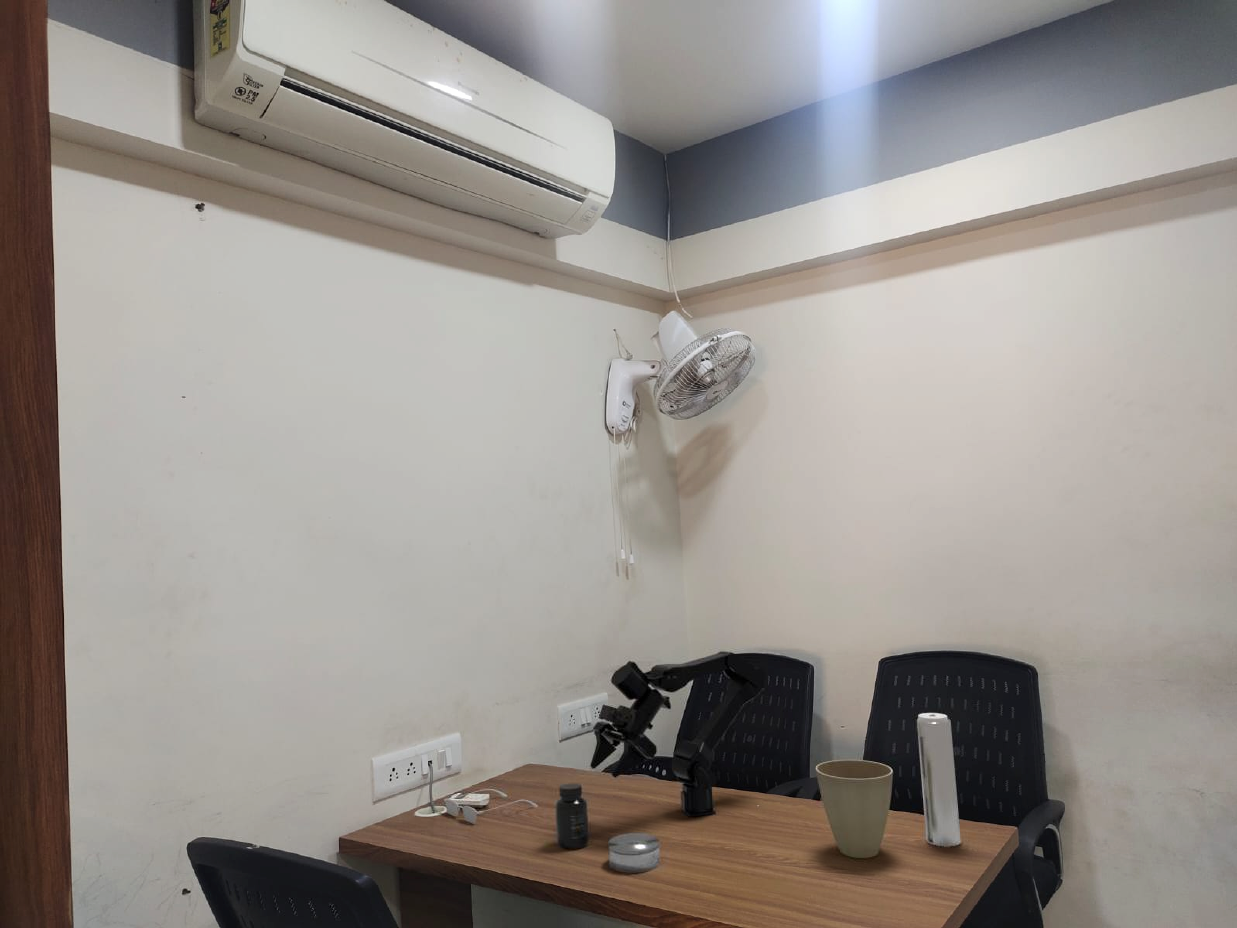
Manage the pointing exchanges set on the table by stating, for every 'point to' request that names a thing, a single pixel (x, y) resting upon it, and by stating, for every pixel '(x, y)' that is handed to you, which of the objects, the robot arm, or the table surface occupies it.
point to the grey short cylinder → (634, 852)
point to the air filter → (938, 780)
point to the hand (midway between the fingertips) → (602, 771)
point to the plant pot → (856, 803)
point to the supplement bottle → (572, 817)
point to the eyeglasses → (469, 812)
